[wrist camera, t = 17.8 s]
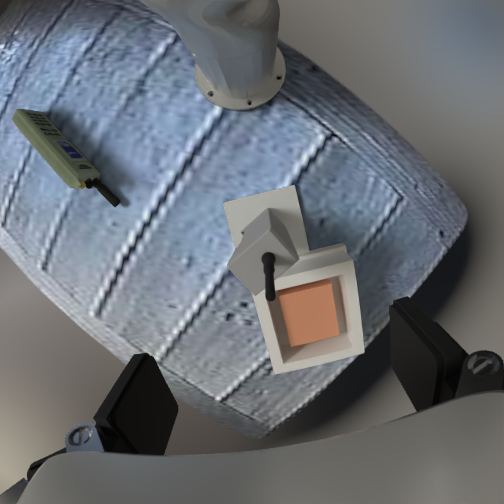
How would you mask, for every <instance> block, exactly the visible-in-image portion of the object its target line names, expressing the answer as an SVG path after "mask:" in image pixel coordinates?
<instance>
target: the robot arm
mask: <svg viewBox="0 0 504 504" xmlns="http://www.w3.org/2000/svg"><path fill="white" fill-rule="evenodd" d="M140 1H141V2H142V3H144V4H145V5H146V6H147V7H149V8H150V9H152V10H153V11H155V12H156V13H158V14H159V15H161V16H162V17H164V18H165V19H166V20H167V21H168V22H169V23H170V24H171V25H172V26H173V28H174V29H175V30H176V32H177V33H178V35H179V36H180V38H181V39H182V41H183V43H184V44H185V46H186V47H187V49H188V50H189V52H190V54H191V55H192V57H193V58H194V60H195V62H196V65H195V79H196V83H197V85H198V88H199V89H200V91H201V92H202V94H203V95H204V96H205V97H206V98H207V99H208V100H209V101H210V102H212V103H213V104H215V105H217V106H219V107H221V108H225V109H228V110H235V111H240V110H249V109H254V108H256V107H259V106H262V105H263V104H265V103H267V102H268V101H270V100H271V99H272V98H273V97H274V96H275V95H276V94H277V93H278V91H279V90H280V89H281V87H282V85H283V82H284V79H285V73H286V65H285V60H284V57H283V55H282V53H281V51H280V50H279V48H278V47H277V40H278V31H279V19H280V8H279V3H278V0H140ZM277 78H280V80H277ZM211 94H213V96H212V97H210V95H211ZM249 102H251V103H252V104H251V105H248V103H249ZM389 315H390V333H391V334H390V336H391V364H392V368H393V370H394V372H395V374H396V375H397V377H398V379H399V381H400V382H401V384H402V386H403V388H404V390H405V391H406V393H407V395H408V397H409V398H410V400H411V402H412V404H413V406H414V407H415V409H416V411H417V412H415V413H412V414H409V415H406V416H403V417H401V418H397V419H395V420H392V421H388V422H385V423H382V424H379V425H376V426H372V427H369V428H366V429H362V430H358V431H355V432H351V433H347V434H343V435H339V436H335V437H331V438H326V439H322V440H317V441H312V442H307V443H302V444H296V445H291V446H285V447H279V448H272V449H264V450H256V451H247V452H237V453H226V454H225V453H224V454H207V455H164V453H165V450H166V447H167V444H168V441H169V438H170V435H171V431H172V429H173V425H174V422H175V419H176V416H177V413H178V405H177V402H176V400H175V398H174V397H173V395H172V393H171V391H170V389H169V387H168V385H167V383H166V381H165V379H164V377H163V375H162V373H161V371H160V369H159V367H158V365H157V363H156V361H155V359H154V357H153V356H150V355H149V354H148V353H142V354H134V355H133V357H132V358H131V360H130V361H129V363H128V364H127V366H126V367H125V369H124V370H123V372H122V373H121V375H120V377H119V378H118V380H117V381H116V383H115V384H114V386H113V387H112V389H111V391H110V392H109V394H108V395H107V397H106V399H105V400H104V402H103V403H102V405H101V406H100V408H99V410H98V411H97V413H96V414H95V416H94V418H93V419H94V420H95V421H96V425H95V426H94V425H92V424H89V423H83V424H80V425H77V426H75V427H74V428H72V429H71V430H70V431H69V432H68V433H67V435H66V438H65V445H66V447H65V448H64V449H62V450H59V451H57V452H55V453H53V454H51V455H49V456H47V457H45V458H43V459H40V460H38V461H36V462H34V463H32V464H31V465H30V468H29V469H28V472H27V478H28V479H27V480H26V479H25V478H22V479H21V480H20V481H19V482H17V483H16V484H14V485H13V486H12V487H10V488H9V489H8V490H6V491H5V492H4V493H2V494H1V495H0V504H504V363H503V360H502V358H501V357H500V356H499V355H498V354H497V353H495V352H492V351H487V350H481V351H476V352H473V353H472V354H470V355H468V353H466V351H465V350H464V349H463V348H462V347H461V346H460V345H459V344H458V343H457V342H456V341H455V340H454V339H453V338H452V337H451V336H450V335H449V334H448V333H447V332H446V331H445V330H444V329H443V328H442V327H441V326H440V325H439V324H438V323H437V322H434V321H433V320H432V319H431V318H430V317H429V316H428V315H427V314H426V313H425V312H424V311H423V310H422V309H420V307H418V306H417V305H416V304H415V303H414V302H413V301H412V300H411V299H410V298H409V297H408V296H407V297H403V298H400V299H397V300H394V301H393V305H390V306H389Z"/></svg>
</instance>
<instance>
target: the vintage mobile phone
mask: <svg viewBox="0 0 504 504" xmlns="http://www.w3.org/2000/svg"><path fill="white" fill-rule="evenodd" d="M241 234H242V235H243V237H242V240H241V243H240V244H239V245H238V247H237V248H236V249H235V251H234V253H233V255H232V257H231V259H230V260H229V262H228V264H227V267H228V268H229V269H230V270H231V271H232V272H233V274H234V275H235V276H236V277H237V278H238V279H239V280H240V281H241V282H242V283H243V284H244V285H245V286H246V287H247V288H248V289H249V290H250V291H251V292H252V293H253V294H254V295H255V296H256V295H257V294H259V293H260V292H261V291H262V290H264V289H265V298H266V300H267V301H274V300H275V298H276V293H275V283H274V281H275V280H276V279H277V278H278V277H279V276H281V275H282V274H283V273H284V272H285V271H287V270H288V269H289V268H290V267H291V266H293V265H294V264H295V263H296V262H297V261H299V256H298V254H297V251H296V249H295V247H294V245H293V242H292V240H291V238H290V235H289V233H288V231H287V229H286V227H285V226H284V225H283V223H282V222H281V221H280V220H279V219H278V218H277V217H276V216H275V214H274V213H273V212H272V211H271V210H270V209H269V208H267V209H265V210H264V211H263V212H262V213H261V214H260V215H259V216H257V217H256V218H255V219H254V220H253V221H252V222H251V223H250V224H248V225H247V226H246V227H245V228H244V229H243V230H242V231H241Z"/></svg>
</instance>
